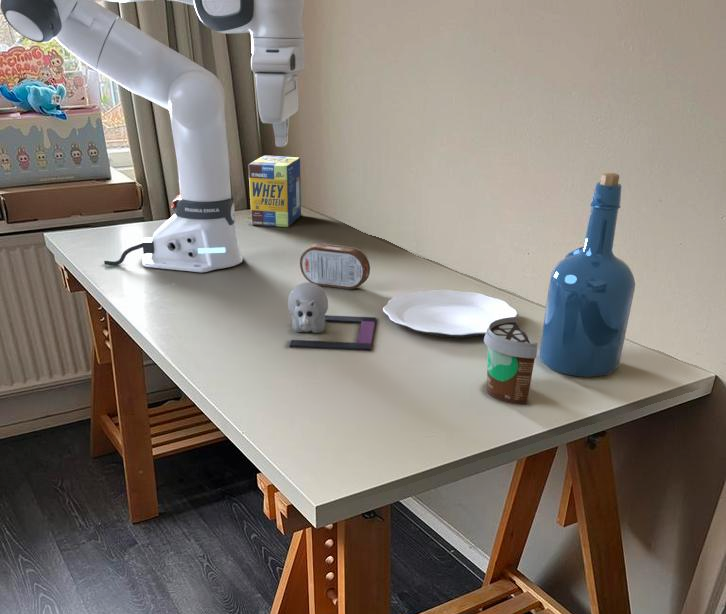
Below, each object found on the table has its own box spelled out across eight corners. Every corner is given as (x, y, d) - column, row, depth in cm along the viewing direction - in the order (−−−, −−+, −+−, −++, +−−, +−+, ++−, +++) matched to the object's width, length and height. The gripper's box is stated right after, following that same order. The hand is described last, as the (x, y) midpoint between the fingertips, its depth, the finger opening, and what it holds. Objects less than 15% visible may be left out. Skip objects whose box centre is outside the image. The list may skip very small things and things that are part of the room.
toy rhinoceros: (283, 345, 135) (281, 297, 130) (291, 322, 145) (289, 276, 141) (324, 346, 135) (324, 299, 130) (329, 323, 145) (329, 277, 140)
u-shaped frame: (289, 347, 134) (289, 344, 134) (302, 316, 148) (302, 314, 148) (370, 350, 133) (370, 348, 133) (375, 319, 147) (375, 317, 147)
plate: (442, 291, 163) (442, 282, 162) (542, 321, 148) (543, 312, 147) (356, 317, 148) (356, 308, 147) (458, 355, 132) (459, 344, 132)
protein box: (251, 225, 209) (247, 163, 201) (266, 213, 222) (263, 154, 214) (288, 227, 208) (287, 165, 200) (302, 215, 221) (300, 156, 213)
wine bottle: (630, 379, 125) (672, 182, 109) (550, 380, 124) (581, 182, 108) (601, 347, 137) (636, 166, 121) (527, 348, 136) (553, 165, 120)
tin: (370, 288, 163) (371, 247, 159) (365, 292, 161) (366, 251, 157) (304, 280, 168) (303, 240, 163) (298, 284, 165) (297, 244, 161)
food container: (471, 376, 125) (477, 316, 120) (509, 375, 125) (516, 315, 120) (488, 409, 114) (495, 345, 109) (529, 408, 115) (538, 344, 110)
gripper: (270, 54, 140) (274, 137, 147) (248, 60, 123) (253, 153, 130) (305, 55, 140) (307, 138, 147) (287, 61, 122) (290, 155, 130)
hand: (281, 145), depth 138 cm, fingers closed
